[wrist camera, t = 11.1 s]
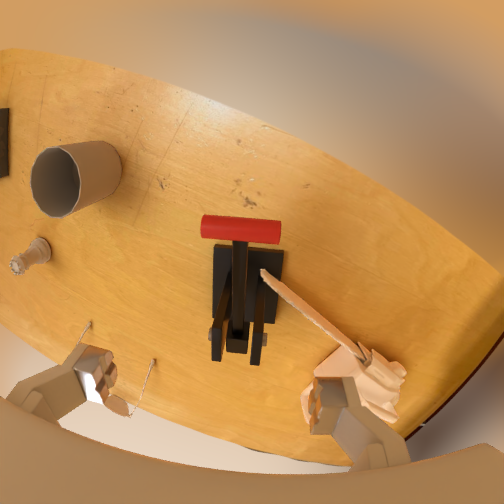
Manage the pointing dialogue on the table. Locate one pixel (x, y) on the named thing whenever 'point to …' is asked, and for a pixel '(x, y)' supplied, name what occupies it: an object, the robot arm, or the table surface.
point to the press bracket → (256, 302)
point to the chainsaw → (349, 362)
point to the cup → (74, 176)
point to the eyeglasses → (114, 401)
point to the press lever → (239, 264)
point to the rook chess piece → (31, 256)
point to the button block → (4, 142)
